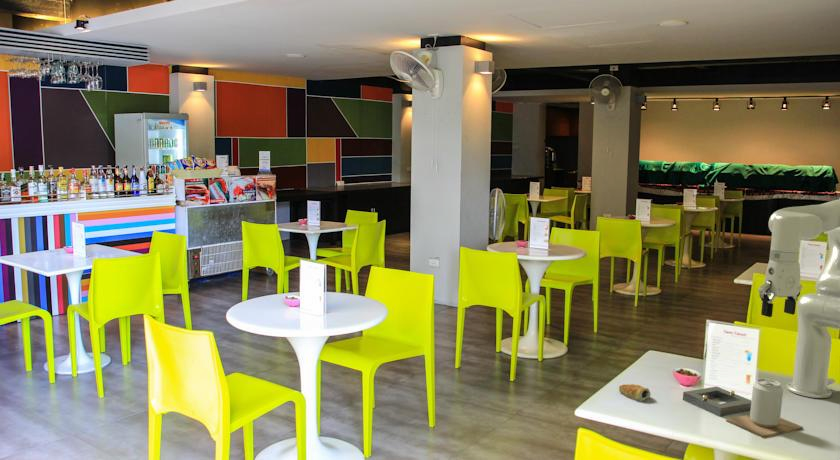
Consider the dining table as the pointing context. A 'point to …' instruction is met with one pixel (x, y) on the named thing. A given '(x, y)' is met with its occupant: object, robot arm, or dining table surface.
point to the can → (766, 402)
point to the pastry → (635, 392)
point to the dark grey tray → (703, 401)
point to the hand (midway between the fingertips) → (777, 314)
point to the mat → (763, 431)
